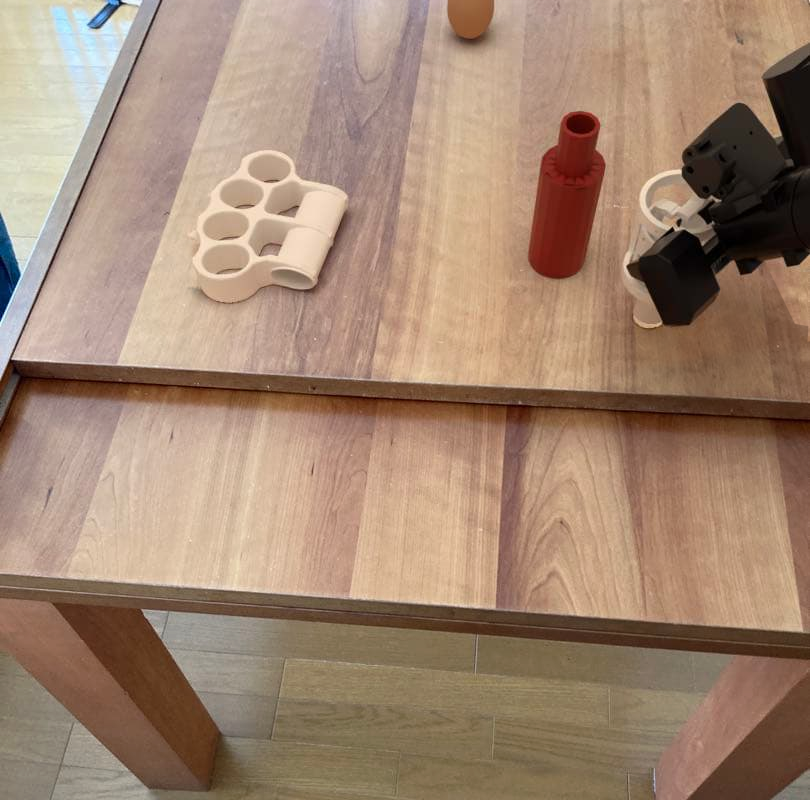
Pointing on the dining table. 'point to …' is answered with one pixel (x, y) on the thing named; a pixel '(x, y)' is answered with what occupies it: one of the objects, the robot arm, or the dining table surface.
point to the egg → (470, 16)
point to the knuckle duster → (265, 229)
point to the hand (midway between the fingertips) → (654, 247)
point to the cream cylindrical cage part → (660, 234)
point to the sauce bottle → (567, 198)
